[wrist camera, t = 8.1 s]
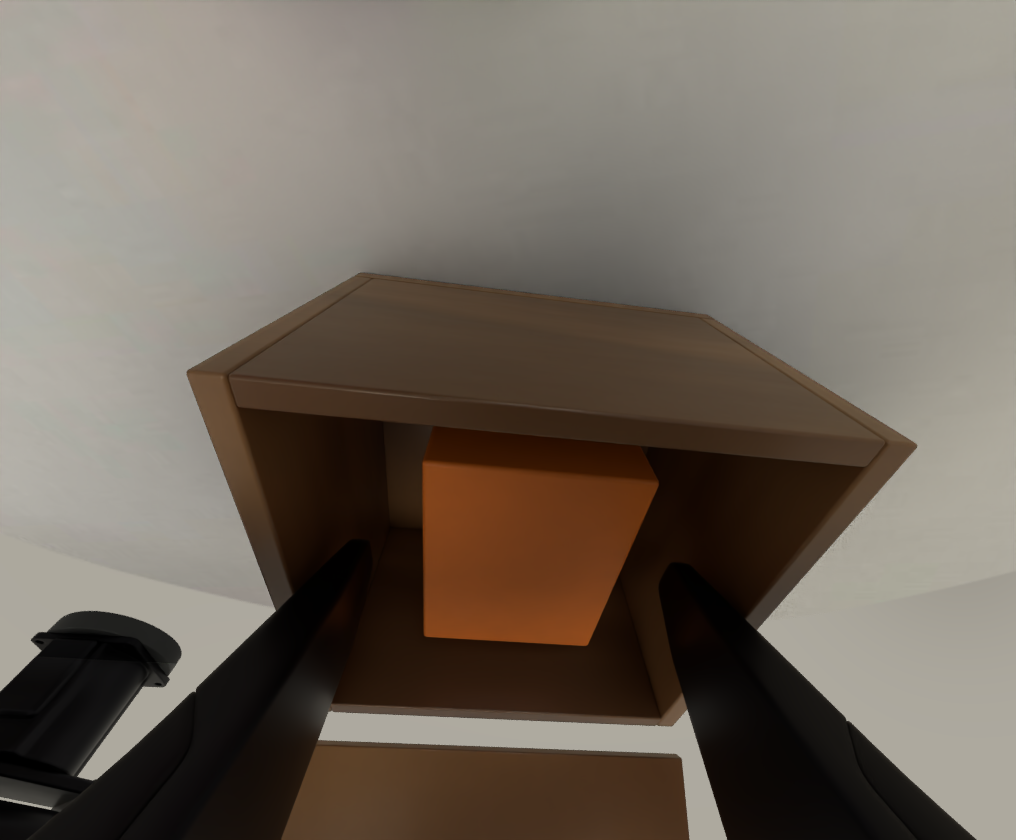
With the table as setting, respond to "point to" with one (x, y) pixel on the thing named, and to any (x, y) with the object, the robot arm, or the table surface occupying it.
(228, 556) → the table surface
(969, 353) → the table surface
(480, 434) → the orange block
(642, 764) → the flap
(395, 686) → the brown wooden open container
